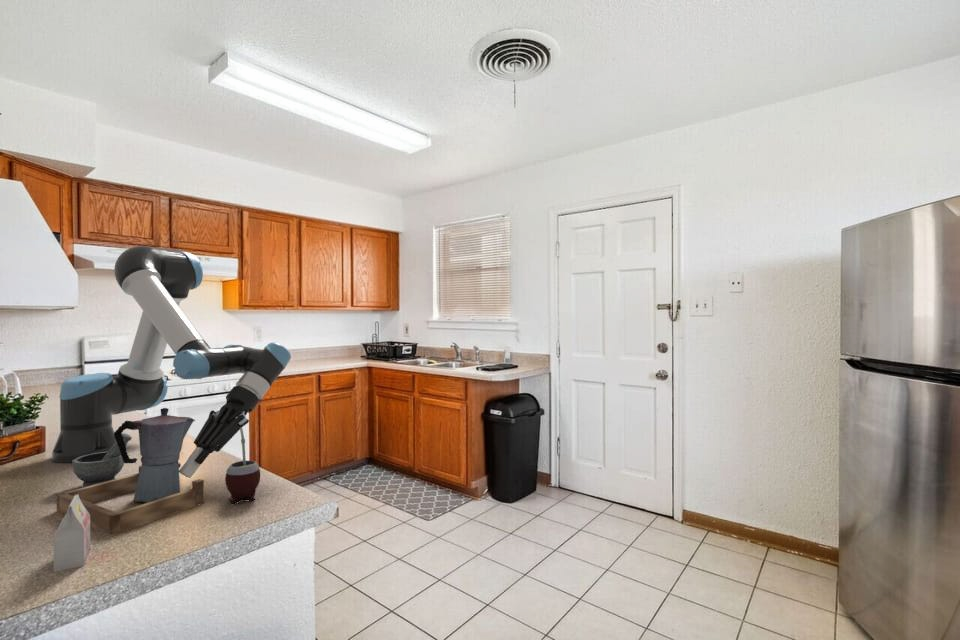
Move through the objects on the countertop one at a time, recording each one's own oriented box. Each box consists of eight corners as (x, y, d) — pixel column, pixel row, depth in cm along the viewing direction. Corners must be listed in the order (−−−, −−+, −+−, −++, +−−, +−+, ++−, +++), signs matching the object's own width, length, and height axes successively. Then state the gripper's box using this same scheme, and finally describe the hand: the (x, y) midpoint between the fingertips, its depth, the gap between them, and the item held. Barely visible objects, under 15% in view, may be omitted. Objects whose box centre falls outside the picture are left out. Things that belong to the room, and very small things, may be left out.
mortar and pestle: (69, 495, 107) (69, 443, 107) (74, 483, 114) (75, 434, 114) (131, 485, 113) (131, 436, 113) (132, 475, 121) (132, 428, 121)
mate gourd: (243, 507, 101) (243, 437, 101) (214, 502, 103) (214, 434, 103) (268, 494, 108) (268, 429, 108) (240, 490, 110) (241, 427, 110)
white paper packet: (53, 572, 75) (54, 510, 75) (62, 554, 81) (62, 496, 81) (83, 565, 77) (83, 505, 77) (89, 548, 83) (90, 492, 83)
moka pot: (202, 492, 109) (203, 406, 109) (122, 514, 97) (123, 417, 97) (185, 483, 115) (185, 401, 115) (107, 502, 103) (108, 411, 103)
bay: (146, 485, 114) (146, 464, 114) (203, 503, 103) (203, 480, 103) (56, 511, 98) (56, 487, 98) (113, 535, 88) (113, 508, 88)
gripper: (272, 403, 124) (212, 487, 109) (240, 399, 130) (179, 478, 115) (255, 386, 119) (189, 471, 105) (222, 382, 125) (156, 462, 111)
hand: (184, 474), depth 110 cm, fingers closed
